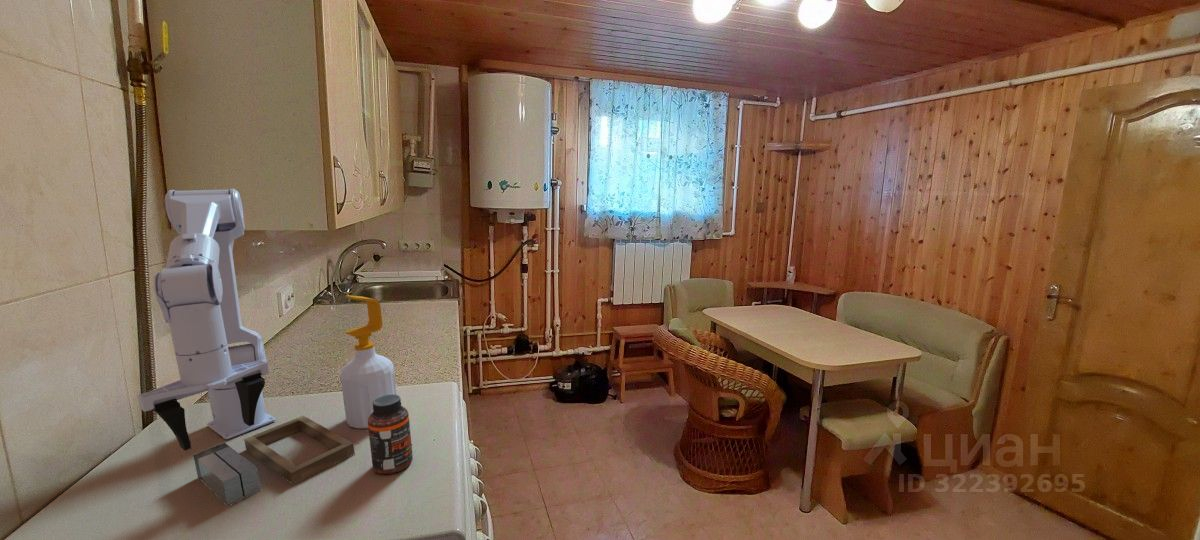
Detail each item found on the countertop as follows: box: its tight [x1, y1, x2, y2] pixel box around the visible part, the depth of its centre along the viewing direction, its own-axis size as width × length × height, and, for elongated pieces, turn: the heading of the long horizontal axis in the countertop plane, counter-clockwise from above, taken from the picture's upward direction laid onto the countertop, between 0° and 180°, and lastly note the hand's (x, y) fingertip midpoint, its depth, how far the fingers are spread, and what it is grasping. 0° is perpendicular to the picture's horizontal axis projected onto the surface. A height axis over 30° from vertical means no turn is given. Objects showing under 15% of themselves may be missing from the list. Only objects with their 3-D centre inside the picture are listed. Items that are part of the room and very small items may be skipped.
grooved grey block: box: [192, 442, 261, 507], centre depth 70 cm, size 12×4×4 cm, turn 56°
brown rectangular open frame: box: [243, 415, 356, 486], centre depth 78 cm, size 17×9×2 cm, turn 56°
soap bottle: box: [339, 294, 398, 429], centre depth 87 cm, size 9×9×25 cm
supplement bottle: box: [367, 394, 413, 475], centre depth 73 cm, size 6×6×11 cm
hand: (218, 435), depth 69 cm, fingers open, 7 cm apart
